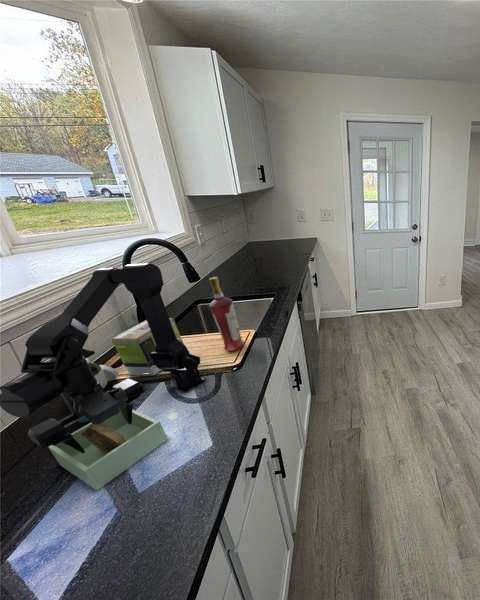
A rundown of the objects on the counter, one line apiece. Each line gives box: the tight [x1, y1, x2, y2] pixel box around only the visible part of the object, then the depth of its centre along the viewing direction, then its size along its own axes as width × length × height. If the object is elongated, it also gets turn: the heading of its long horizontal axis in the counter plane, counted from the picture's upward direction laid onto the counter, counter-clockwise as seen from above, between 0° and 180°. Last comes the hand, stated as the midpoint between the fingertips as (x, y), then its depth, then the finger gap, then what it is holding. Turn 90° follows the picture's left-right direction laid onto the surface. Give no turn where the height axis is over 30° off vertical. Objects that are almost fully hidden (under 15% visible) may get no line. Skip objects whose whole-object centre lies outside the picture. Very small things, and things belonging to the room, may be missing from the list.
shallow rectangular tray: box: [47, 409, 169, 491], centre depth 74 cm, size 15×17×6 cm
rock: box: [81, 422, 127, 455], centre depth 75 cm, size 11×9×10 cm
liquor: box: [208, 276, 245, 352], centre depth 113 cm, size 7×7×28 cm
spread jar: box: [60, 357, 119, 397], centre depth 97 cm, size 12×11×12 cm
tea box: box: [110, 317, 184, 377], centre depth 109 cm, size 15×10×15 cm
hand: (107, 437), depth 74 cm, fingers open, 9 cm apart
